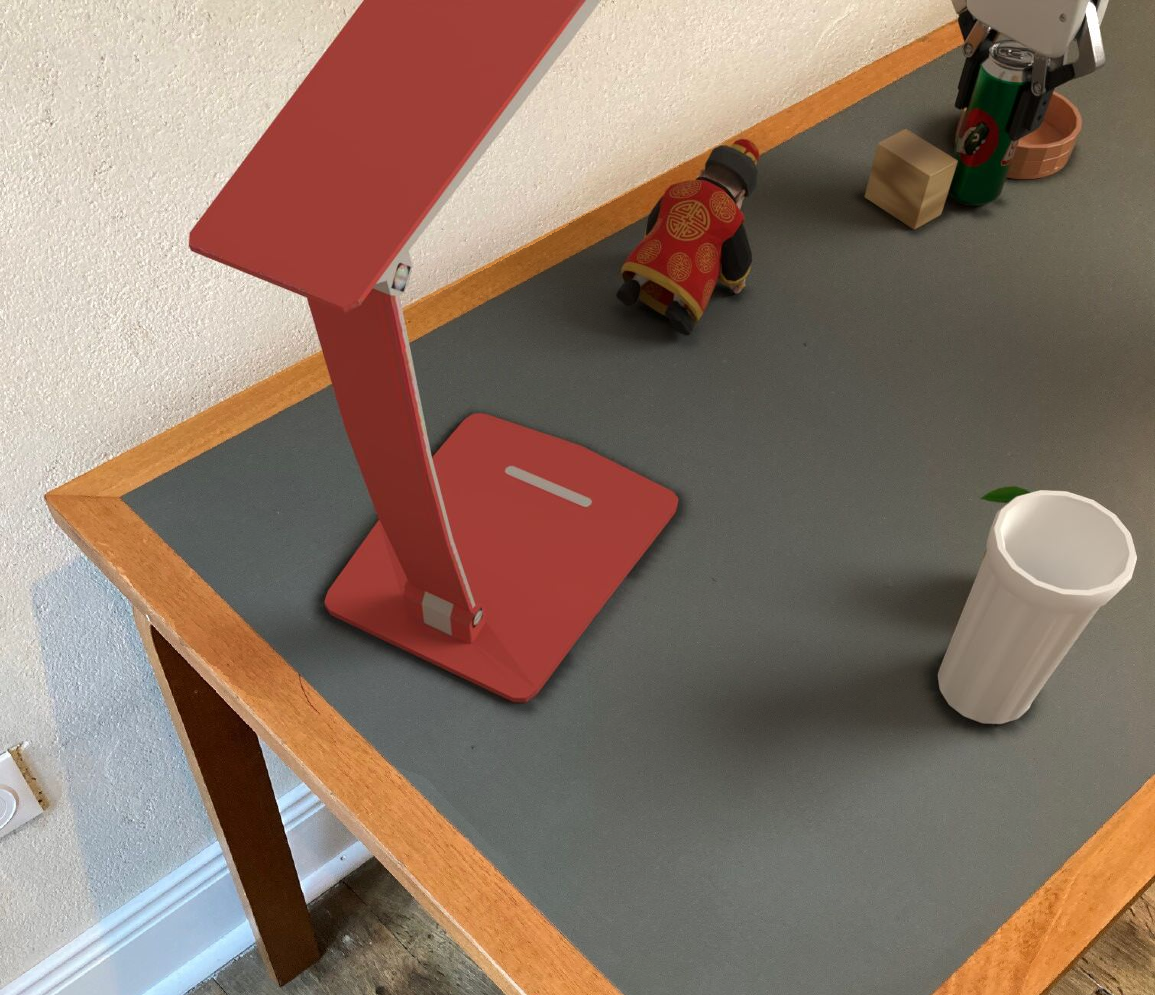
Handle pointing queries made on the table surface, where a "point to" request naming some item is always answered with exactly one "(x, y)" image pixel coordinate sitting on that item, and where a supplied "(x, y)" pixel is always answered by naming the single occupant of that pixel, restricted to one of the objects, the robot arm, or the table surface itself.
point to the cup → (1032, 600)
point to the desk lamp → (382, 353)
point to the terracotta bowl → (1045, 141)
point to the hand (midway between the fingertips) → (995, 116)
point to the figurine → (695, 239)
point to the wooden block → (910, 178)
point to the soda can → (990, 124)
